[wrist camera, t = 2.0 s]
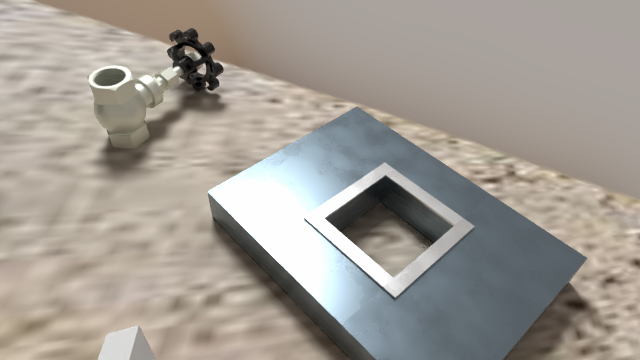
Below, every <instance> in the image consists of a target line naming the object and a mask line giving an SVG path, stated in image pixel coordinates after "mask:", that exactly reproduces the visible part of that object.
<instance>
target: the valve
mask: <svg viewBox="0 0 640 360" xmlns="http://www.w3.org/2000/svg"><path fill="white" fill-rule="evenodd" d="M169 37H170V40H171V41H174V40H175V41H176V42H177V43H178V44H177V45H174V46H172V47H171V48H169V49H168V50H167V53H168V55H169V57H170V58H172V60H173V61H174V62H173V69H172V68H170V67H168V68H165V69H163V70H161V71H160V72H158V73H156V74H155V77H150V76H148V75H145V74H142V75H140V76H138V77H137V78H135V79H133V78H132V75H131V73H130V70H129V68H127V67H123V66H106V67H103V68H100V69H98V70H96V71H94V72H93V73H91V74H90V75H89V76H88V81H89V84H90V87H91V90H92V92H93V95H94V98H95V100H94V112H95V115H96V118H97V120H98V121H99V123H100V124H101V125H102V126H103V127H104V128H106V129H107V132H108V135H109V138H110V141H111V143H112V146H113V148H127V149H134V148H136V147H138V146H139V145H140V144H142V143H143V142H145V141H146V140H147V139H149V138H150V135H149V132H148V128H147V125H146V122H145V120H144V119H145V116H146V108H147V107H149V108H154V107H155V106H157V105H158V104H160V103H161V102H162V101H163V93H164V90H168V89H170V88H172V87H173V86H175V85H176V84H178V83H179V77H180V78H182V79H184V81H185V82H187V83H189V84H192V86H193V88H194V89H196V90H198V91H199V90H201V89H202V88H204V87H205V86H206V81H207V82H208V84H209V86H208V87H207V89H208V90H210V91H213V90H214V89H215V88H217V87H218V86H219V81H218V79H217V78H216V77H217V76H218V75H220V74H221V73H223V67H222V65H221V64H220V63H215V62H214V61H213V60H212V58H211V54H212V53H214V51H215V49H214V46H213V45H212V44H211V43H210V42H207V43H205V44H204V45H202V44H201V43H200V42H199V41H198V33H197V32H196V30H194V29H193V28H190V29H189V30H187V31H185V32H183V33H182V32H181V31H180V30H176V31H174V32H173V33H171V34H170V35H169ZM185 37H187V38H185ZM185 46H190V47H192V48H194V49H195V50H197V51H198V52H199V54H200V55H201V56H202V57H200V56H199V55H198V54H197V53H196V52H192V53H189V54H185V51H184V50H185ZM203 63H205V64H206V74H205V75H203V74H200V73H198V72H197V71H198V69H200V68H201V67H203ZM190 77H191V78H190Z"/></svg>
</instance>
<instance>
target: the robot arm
mask: <svg viewBox="0 0 640 360" xmlns="http://www.w3.org/2000/svg"><path fill="white" fill-rule="evenodd" d="M98 360H156V358H155V356H154V354H153V352H152V350H151V348H150V346H149V344H148V342H147V340H146V338H145V336H144V334H143V332H142V330H141V328H140V326H139V325H138V326H134V327H130V328H127V329H123V330H119V331H115V332H112V333H108V334H107V335H106V338H105V340H104V343H103V346H102V349H101V352H100V354H99V357H98Z"/></svg>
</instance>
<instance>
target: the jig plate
mask: <svg viewBox="0 0 640 360" xmlns="http://www.w3.org/2000/svg"><path fill="white" fill-rule="evenodd" d="M208 197H209V202H210V207H211V212H212V217H213V218H214V219H215V220H216V221H217V222H218V223H219V224H220V225H221V226H222V227H223V228H224V229H225V230H226V231H227V232H228V234H229V235H230V236H231V237H232V238H233V239H234V240H235V241H236V242H237V243H238V244H239V245H240V246H241V247H242V248H243V249H244V250H245V251H246V252H247V253H248V254H249V255H250V256H251V257H252V258H253V259H254V260H255V261H256V262H257V263H258V264H259V265H260V267H261V268H262V269H263V270H264V271H265V272H266V273H267V274H268V275H269V276H270V277H271V278H272V279H273V280H274V281H275V282H276V283H277V284H278V285H279V286H280V287H281V288H282V289H283V290H284V291H285V292H286V293H287V294H288V295H289V296H290V297H291V299H292V300H293V301H294V302H295V303H296V304H297V305H298V306H299V307H300V308H301V309H302V310H303V311H304V312H305V313H306V314H307V315H308V316H309V317H310V318H311V319H312V320H313V321H314V322H315V323H316V324H317V325H318V326H319V327H320V328H321V329H322V330H323V332H324V333H325V334H326V335H327V336H328V337H329V338H330V339H331V340H332V341H333V342H334V343H335V344H336V345H337V346H338V347H339V348H340V349H341V350H342V351H343V352H344V353H345V354H346V355H347V356H348V357H349V358H350V359H351V360H504V359H505V358H506V357H507V356H508V355H509V353H510V352H511V351H512V350H513V349H514V347H515V346H516V345H517V344H518V343H519V342H520V340H521V339H522V338H523V337H524V336H525V334H526V333H527V332H528V331H529V330H530V328H531V327H532V326H533V325H534V324H535V322H536V321H537V320H538V319H539V318H540V316H541V315H542V314H543V313H544V312H545V310H546V309H547V308H548V307H549V306H550V304H551V303H552V302H553V301H554V300H555V298H556V297H557V296H558V295H559V294H560V293H561V291H562V290H563V289H564V288H565V287H566V285H567V284H568V283H569V282H570V280H571V279H572V278H573V276H574V275H575V274H576V273H577V271H578V270H579V269H580V267H581V266H582V265H583V263H584V262H585V261H586V259H587V258H586V257H585V256H583V255H582V254H580V253H579V252H577V251H576V250H574V249H573V248H571V247H569V246H568V245H566V244H565V243H563V242H562V241H560V240H559V239H557V238H556V237H554V236H553V235H551V234H550V233H548V232H547V231H545V230H544V229H542V228H541V227H539V226H538V225H536V224H535V223H533V222H531V221H530V220H528V219H527V218H525V217H524V216H522V215H521V214H519V213H518V212H516V211H515V210H513V209H512V208H510V207H509V206H507V205H506V204H504V203H503V202H501V201H500V200H498V199H497V198H495V197H493V196H492V195H490V194H489V193H487V192H486V191H484V190H483V189H481V188H480V187H478V186H477V185H475V184H474V183H472V182H471V181H469V180H468V179H466V178H465V177H463V176H462V175H460V174H459V173H457V172H456V171H454V170H452V169H451V168H449V167H448V166H446V165H445V164H443V163H442V162H440V161H439V160H437V159H436V158H434V157H433V156H431V155H430V154H428V153H427V152H425V151H424V150H422V149H421V148H419V147H418V146H416V145H414V144H413V143H411V142H410V141H408V140H407V139H405V138H404V137H402V136H401V135H399V134H398V133H396V132H395V131H393V130H392V129H390V128H389V127H387V126H386V125H384V124H383V123H381V122H380V121H378V120H377V119H375V118H373V117H372V116H370V115H369V114H367V113H366V112H364V111H363V110H361V109H360V108H358V107H355V108H354V109H352V110H350V111H348V112H347V113H345V114H343V115H341V116H340V117H338V118H336V119H334V120H333V121H331V122H329V123H327V124H325V125H324V126H322V127H320V128H318V129H317V130H315V131H313V132H311V133H310V134H308V135H306V136H304V137H303V138H301V139H299V140H297V141H296V142H294V143H292V144H290V145H289V146H287V147H285V148H283V149H281V150H280V151H278V152H276V153H274V154H273V155H271V156H269V157H267V158H266V159H264V160H262V161H260V162H259V163H257V164H255V165H253V166H252V167H250V168H248V169H246V170H244V171H243V172H241V173H239V174H237V175H236V176H234V177H232V178H230V179H229V180H227V181H225V182H223V183H222V184H220V185H218V186H216V187H215V188H213V189H211V190H209V191H208ZM380 202H381V203H383V204H384V205H385V206H386V207H388V208H389V209H390V210H392V211H393V212H394V213H396V214H397V215H398V216H399V217H401V218H402V219H403V220H405V221H406V222H407V223H409V224H410V225H411V226H412V227H414V228H415V229H416V230H418V231H419V232H420V233H422V234H423V235H424V236H425V237H427V238H428V239H429V240H431V241H432V242H433V243H434V244H433V245H431V246H430V247H429V248H428V249H427V250H426V251H424V252H423V253H422V254H421V255H420V256H419V257H418V258H416V259H415V260H414V261H413V262H412V263H411V264H409V265H408V266H407V267H406V268H405V269H404V270H402V271H401V272H400V273H399V274H398V275H397V276H396V277H394V278H393V277H392V276H391V275H389V274H388V273H387V272H386V271H385V270H384V269H382V268H381V267H380V266H379V265H378V264H377V263H376V262H374V261H373V260H372V259H371V258H370V257H369V256H367V255H366V254H365V253H364V252H363V251H362V250H360V249H359V248H358V247H357V246H356V245H355V244H353V243H352V242H351V241H350V240H349V239H348V238H346V237H345V236H344V235H343V234H342V233H341V232H340V231H342V230H343V229H345V228H346V227H347V226H349V225H350V224H351V223H353V222H354V221H355V220H357V219H358V218H360V217H361V216H362V215H364V214H365V213H366V212H368V211H369V210H370V209H372V208H373V207H375V206H376V205H377V204H379V203H380Z"/></svg>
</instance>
